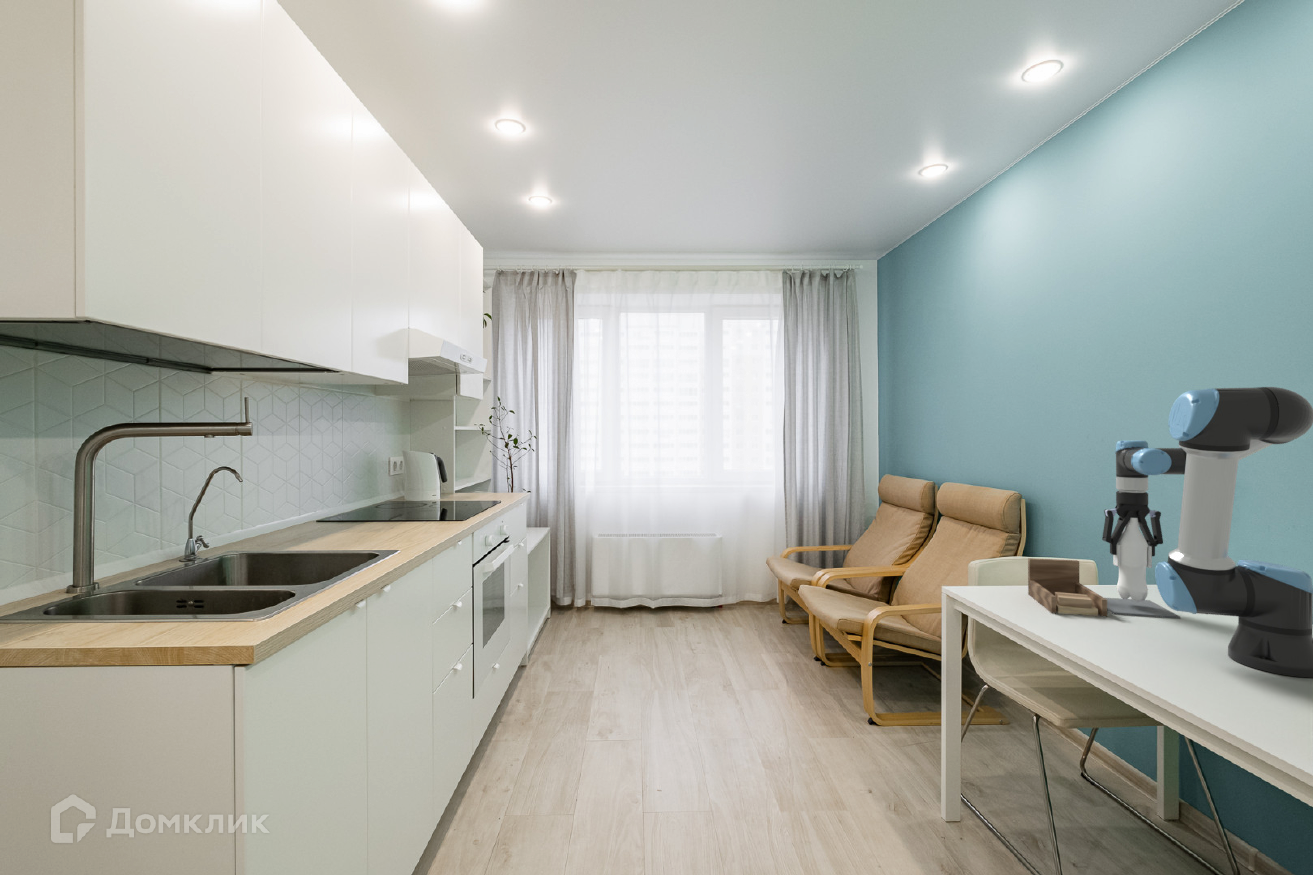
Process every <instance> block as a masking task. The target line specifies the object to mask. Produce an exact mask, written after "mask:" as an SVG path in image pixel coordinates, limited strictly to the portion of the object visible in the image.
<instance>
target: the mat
mask: <svg viewBox="0 0 1313 875" xmlns="http://www.w3.org/2000/svg"><path fill="white" fill-rule="evenodd" d="M1104 598H1105V599H1107V609H1108V610H1109V612H1110V613H1111V612H1112V613H1111V614H1113V613H1114V614H1113V615H1117V614H1121V616H1131V617H1132V616H1134V617H1135V616H1136V617H1149V618H1150V617H1151V618H1163V619H1165V618H1166V619H1167V618H1168V619H1177V620H1179V619H1181V616H1180V615H1178V614H1176V613H1175V612H1172V611H1170V610H1169V609H1167V608H1166V607H1163V606H1161V605H1159V604H1158V603H1155V602H1154V601H1152V600H1150V599H1145V600H1143V601H1142V600H1140V601H1133V600H1132V598H1128V599H1123V598H1118V597H1117V598H1115V597H1104ZM1108 610H1107V611H1108Z"/></svg>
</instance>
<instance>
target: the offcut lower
mask: <svg viewBox="0 0 1313 875" xmlns="http://www.w3.org/2000/svg"><path fill="white" fill-rule="evenodd" d="M1056 613H1058V614H1064V615H1077V614H1082V615H1081V616H1092V615H1095V617H1098V616H1099V614H1098V609H1097V608H1096V607H1094V606H1093V605H1092V609H1091V608H1081V607H1070V606H1060V605H1058V603H1057V602H1056Z"/></svg>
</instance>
